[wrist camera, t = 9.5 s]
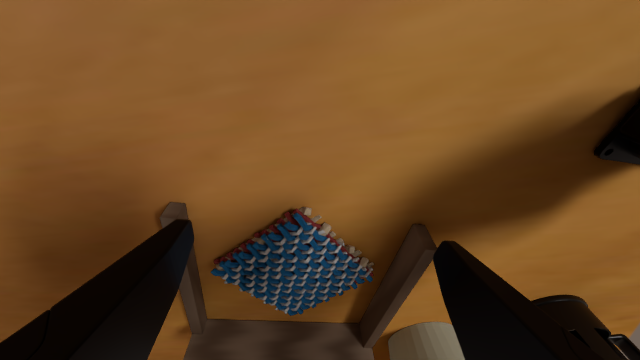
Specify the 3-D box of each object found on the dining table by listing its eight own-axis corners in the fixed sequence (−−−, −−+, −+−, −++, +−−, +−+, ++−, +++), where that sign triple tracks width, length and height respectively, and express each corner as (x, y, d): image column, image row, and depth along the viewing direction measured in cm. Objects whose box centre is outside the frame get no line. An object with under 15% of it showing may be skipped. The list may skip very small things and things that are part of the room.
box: (424, 225, 20) (448, 269, 16) (365, 328, 29) (372, 368, 26) (170, 202, 17) (137, 248, 14) (198, 323, 27) (183, 367, 24)
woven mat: (294, 302, 26) (293, 322, 25) (211, 255, 21) (203, 276, 20) (377, 261, 23) (383, 281, 21) (303, 194, 18) (303, 213, 16)
